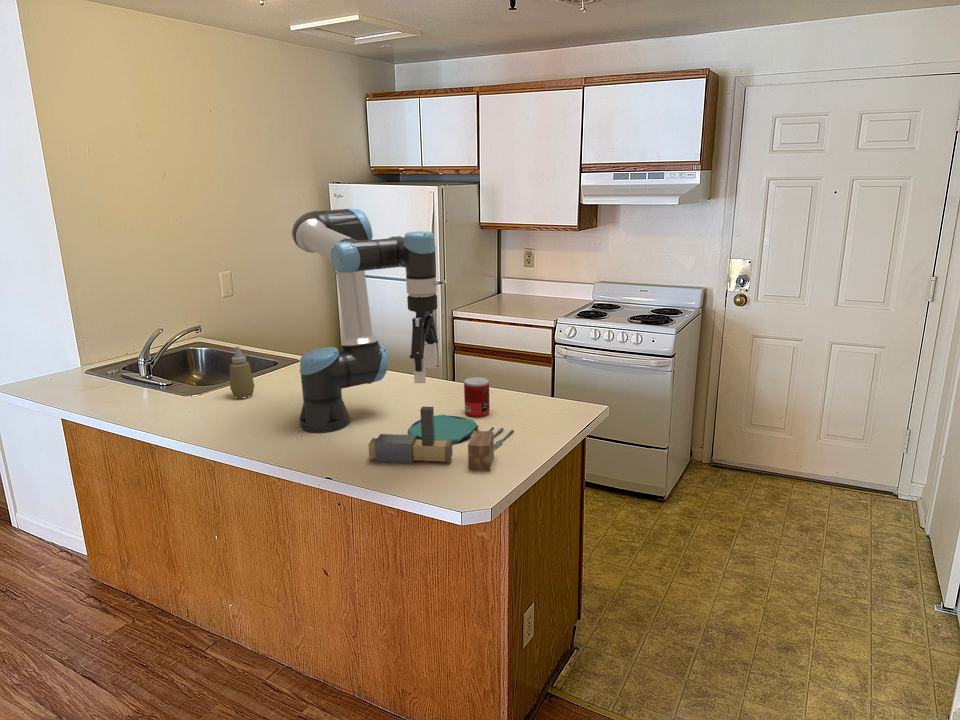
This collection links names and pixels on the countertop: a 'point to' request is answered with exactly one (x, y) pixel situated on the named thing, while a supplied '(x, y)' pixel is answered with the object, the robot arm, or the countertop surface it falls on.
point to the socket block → (481, 450)
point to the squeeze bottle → (241, 376)
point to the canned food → (476, 396)
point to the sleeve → (394, 449)
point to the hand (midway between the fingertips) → (425, 375)
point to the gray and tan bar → (425, 441)
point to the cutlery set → (453, 429)
